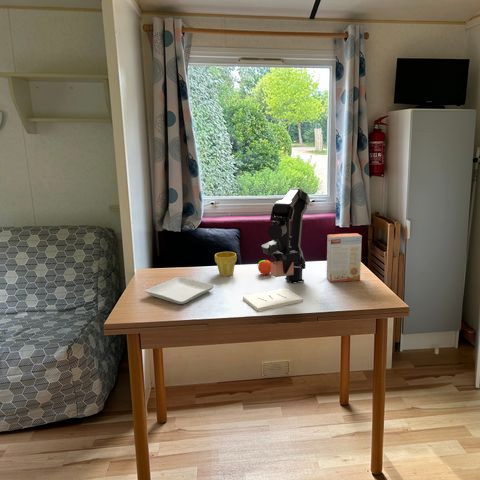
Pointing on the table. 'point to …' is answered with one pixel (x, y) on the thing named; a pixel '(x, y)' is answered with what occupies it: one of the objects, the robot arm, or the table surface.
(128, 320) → the table surface
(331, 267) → the cracker box
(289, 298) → the board
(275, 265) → the block
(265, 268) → the clementine
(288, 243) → the robot arm
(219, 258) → the plant pot
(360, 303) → the table surface
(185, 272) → the table surface
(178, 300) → the salad plate
